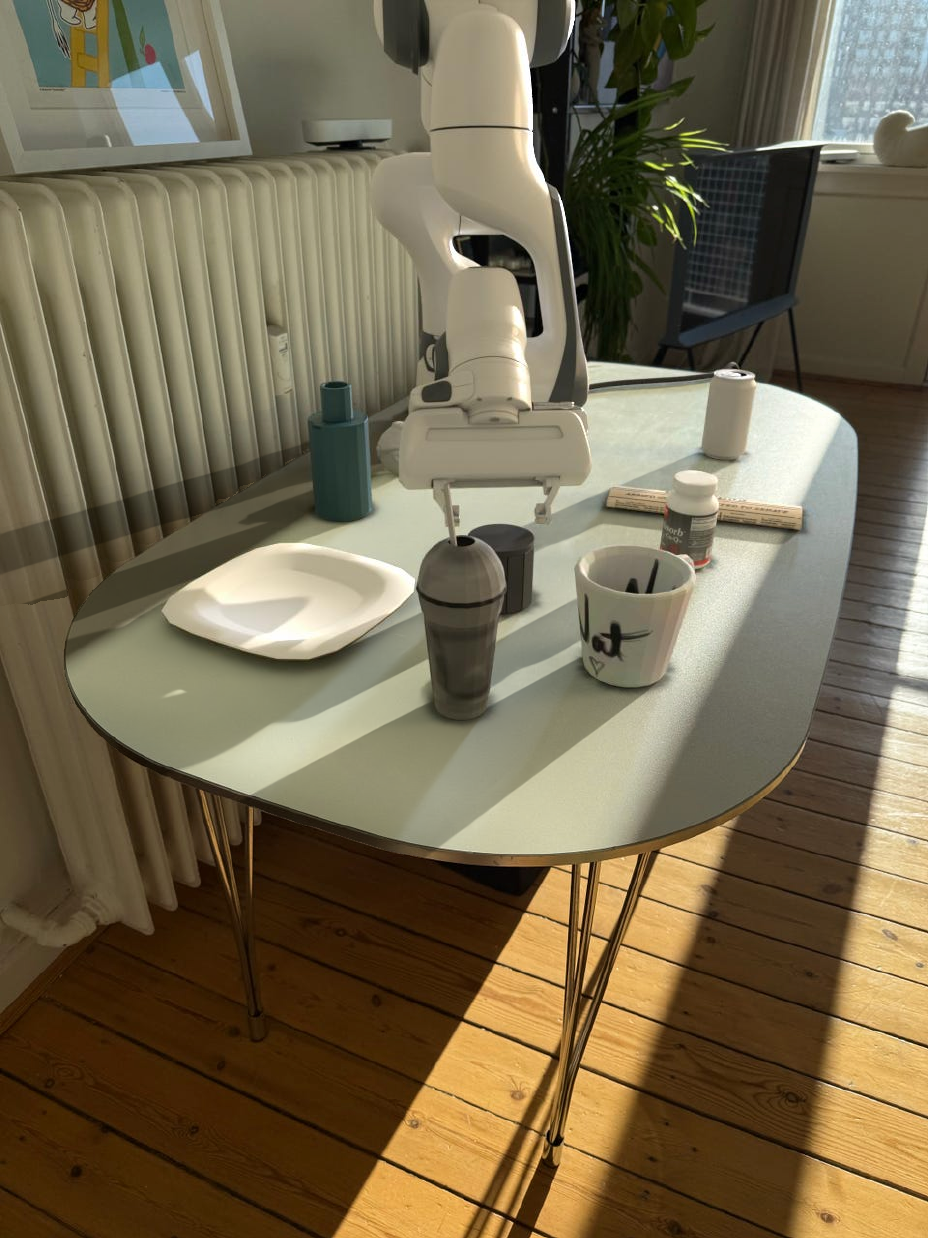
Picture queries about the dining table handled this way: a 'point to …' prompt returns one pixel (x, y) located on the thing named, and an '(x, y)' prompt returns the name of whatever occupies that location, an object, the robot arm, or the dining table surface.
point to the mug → (631, 611)
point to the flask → (340, 456)
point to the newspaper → (726, 512)
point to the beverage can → (728, 413)
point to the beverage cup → (460, 618)
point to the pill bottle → (691, 516)
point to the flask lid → (511, 561)
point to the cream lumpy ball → (390, 447)
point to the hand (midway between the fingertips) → (498, 523)
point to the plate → (290, 601)
